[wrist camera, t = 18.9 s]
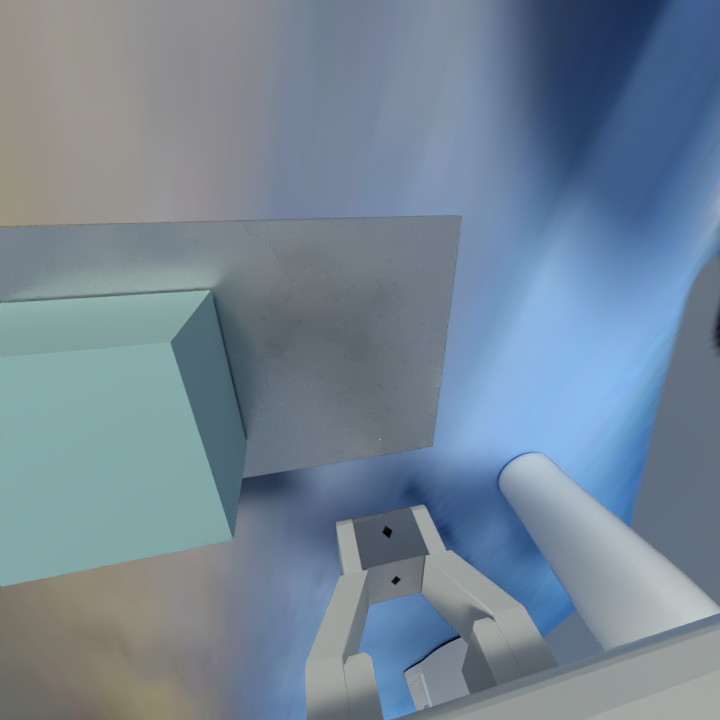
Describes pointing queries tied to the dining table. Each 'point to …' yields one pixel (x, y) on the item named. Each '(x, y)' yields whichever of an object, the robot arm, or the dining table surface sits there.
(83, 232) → the base
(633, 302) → the dining table surface
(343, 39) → the dining table surface
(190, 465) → the cover
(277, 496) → the dining table surface
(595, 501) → the drinking glass
